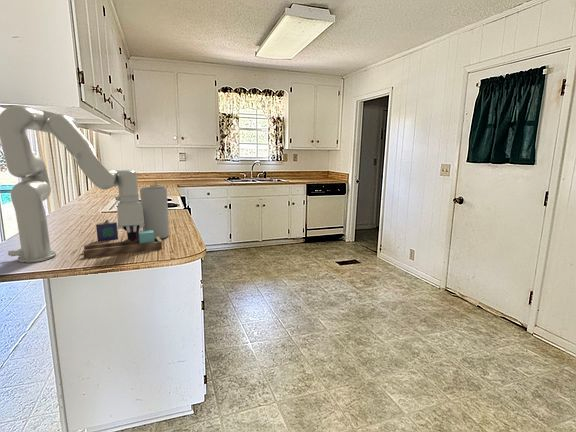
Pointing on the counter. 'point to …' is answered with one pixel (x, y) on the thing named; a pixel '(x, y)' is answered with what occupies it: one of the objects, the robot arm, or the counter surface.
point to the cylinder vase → (155, 210)
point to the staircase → (156, 185)
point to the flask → (107, 231)
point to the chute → (120, 248)
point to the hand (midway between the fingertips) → (132, 240)
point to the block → (146, 236)
